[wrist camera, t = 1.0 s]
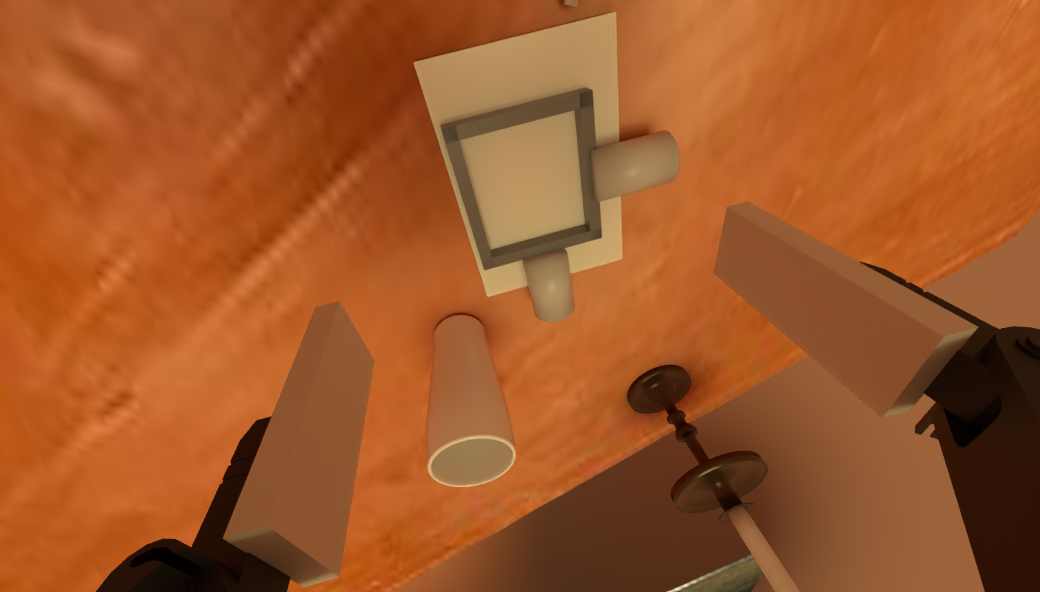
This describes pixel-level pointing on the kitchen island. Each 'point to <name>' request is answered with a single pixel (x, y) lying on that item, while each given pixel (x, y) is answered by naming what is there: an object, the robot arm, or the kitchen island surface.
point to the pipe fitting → (571, 3)
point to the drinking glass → (466, 408)
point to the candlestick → (710, 470)
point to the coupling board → (541, 155)
